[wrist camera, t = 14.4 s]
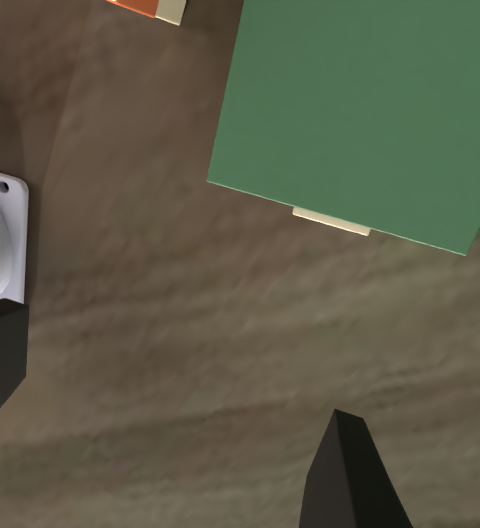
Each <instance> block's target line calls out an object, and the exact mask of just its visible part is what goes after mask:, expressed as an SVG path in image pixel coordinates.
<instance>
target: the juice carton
mask: <svg viewBox="0 0 480 528" xmlns="http://www.w3.org/2000/svg"><path fill="white" fill-rule="evenodd" d="M107 1H109V2H112V3H114V4H117V5H120V6H122V7H125V8H128V9H131V10H133V11H136V12H139V13H141V14H144V15H147V16H150V17H152V18H154V17H157V18H160V19H163V20H165V21H168V22H171V23H173V24H176V25H180V22H181V19H182V15H183V11H184V7H185V4H186V0H107Z"/></svg>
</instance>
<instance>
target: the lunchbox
mask: <svg viewBox="0 0 480 528" xmlns="http://www.w3.org/2000/svg"><path fill="white" fill-rule="evenodd" d="M207 181H208V182H210V183H214V184H217V185H221V186H224V187H228V188H231V189H235V190H238V191H242V192H245V193H249V194H252V195H256V196H259V197H263V198H266V199H270V200H273V201H276V202H280V203H283V204H287V205H290V206H294V209H293V214H294V215H297V216H300V217H304V218H307V219H311V220H314V221H318V222H321V223H325V224H328V225H331V226H335V227H338V228H342V229H345V230H349V231H352V232H356V233H359V234H363V235H366V236H367V235H369V233H370V230H371V229H374V230H377V231H381V232H384V233H388V234H391V235H395V236H398V237H402V238H405V239H409V240H412V241H416V242H419V243H422V244H426V245H429V246H433V247H436V248H440V249H443V250H447V251H450V252H454V253H457V254H461V255H464V256H466V255H467V254H468V252H469V249H470V247H471V245H472V243H473V241H474V239H475V237H476V235H477V233H478V231H479V229H480V0H244V3H243V8H242V12H241V17H240V22H239V27H238V31H237V36H236V41H235V46H234V51H233V55H232V60H231V65H230V70H229V74H228V79H227V84H226V89H225V94H224V98H223V103H222V108H221V113H220V118H219V122H218V127H217V132H216V137H215V141H214V146H213V151H212V156H211V161H210V165H209V170H208V175H207Z"/></svg>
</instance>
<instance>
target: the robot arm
mask: <svg viewBox="0 0 480 528" xmlns="http://www.w3.org/2000/svg"><path fill="white" fill-rule="evenodd" d="M4 183H7V185H8V186H9V191H8V190H7V189H6V188H5V186H4ZM28 196H29V191H28V186H27V184H26V183H25V182H24V181H23V180H21V179H20V178H17V177H13V176H10V175H7V174H3V173H0V408H1V406H2V405H3V404H4V403H5V402H6V400H7V399H8V398H9V397H10V396H11V394H12V393H13V392H14V391H15V389H16V388H17V387H18V386H19V384H20V383H21V382H22V381H23V379H24V378H25V377H26V364H27V343H28V322H29V306H28V305H25V304H24V285H25V263H26V240H27V218H28ZM299 528H413V527H412V525H411V523H410V521H409V519H408V517H407V514H406V512H405V510H404V508H403V506H402V504H401V502H400V500H399V498H398V496H397V494H396V492H395V490H394V487H393V485H392V483H391V481H390V479H389V477H388V474H387V472H386V470H385V467H384V465H383V463H382V461H381V458H380V456H379V454H378V451H377V449H376V447H375V444H374V442H373V439H372V437H371V435H370V432H369V430H368V428H367V425H366V423H365V421H364V419H363V418H360V417H357V416H355V415H352V414H349V413H346V412H343V411H340V410H337V409H335V410H334V412H333V415H332V417H331V420H330V422H329V424H328V427H327V429H326V431H325V434H324V436H323V439H322V441H321V443H320V446H319V448H318V451H317V453H316V455H315V458H314V460H313V463H312V465H311V467H310V470H309V472H308V475H307V478H306V484H305V490H304V496H303V502H302V509H301V516H300V522H299Z"/></svg>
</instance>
